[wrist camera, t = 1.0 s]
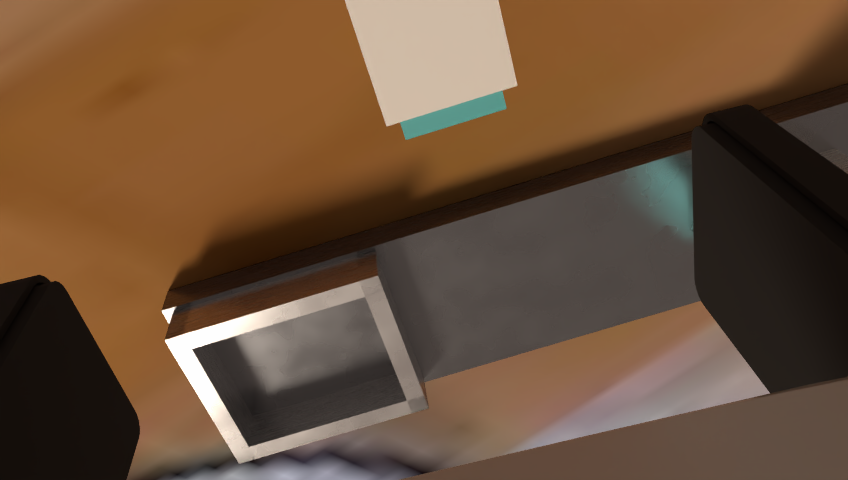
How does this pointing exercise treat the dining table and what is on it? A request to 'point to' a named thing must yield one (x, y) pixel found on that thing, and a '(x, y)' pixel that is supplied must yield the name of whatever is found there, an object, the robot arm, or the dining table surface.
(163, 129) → the dining table surface
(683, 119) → the dining table surface
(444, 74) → the cream block teal pad
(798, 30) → the dining table surface
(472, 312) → the rail
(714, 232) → the robot arm
